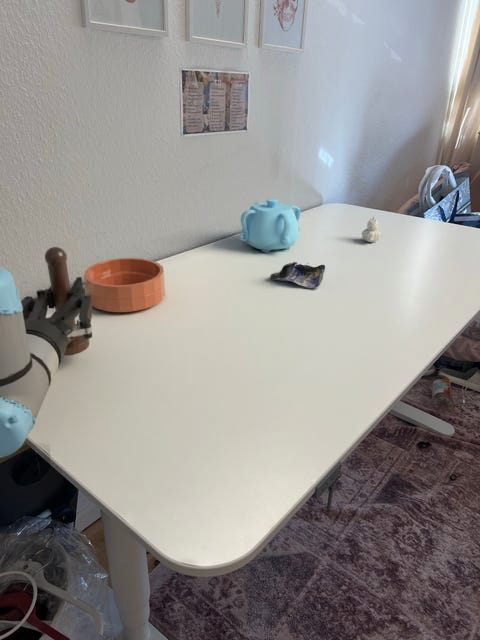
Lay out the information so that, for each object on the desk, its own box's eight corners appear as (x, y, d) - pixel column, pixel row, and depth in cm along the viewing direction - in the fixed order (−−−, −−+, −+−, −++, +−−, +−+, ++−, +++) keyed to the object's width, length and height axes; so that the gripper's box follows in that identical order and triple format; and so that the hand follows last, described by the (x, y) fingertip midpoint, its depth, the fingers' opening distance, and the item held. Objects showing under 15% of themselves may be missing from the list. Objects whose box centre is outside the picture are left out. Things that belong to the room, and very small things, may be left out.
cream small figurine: (379, 240, 147) (383, 214, 144) (378, 246, 142) (382, 219, 138) (361, 238, 149) (365, 212, 145) (359, 244, 143) (363, 218, 140)
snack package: (284, 295, 110) (330, 287, 113) (284, 267, 107) (330, 261, 111) (265, 283, 120) (307, 277, 124) (264, 258, 118) (306, 253, 122)
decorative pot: (286, 259, 131) (289, 209, 124) (232, 249, 136) (234, 201, 130) (304, 242, 144) (308, 197, 138) (255, 234, 150) (257, 190, 143)
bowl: (75, 312, 99) (70, 283, 96) (104, 281, 114) (101, 255, 111) (153, 318, 98) (151, 289, 95) (172, 286, 112) (171, 260, 109)
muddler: (43, 354, 79) (23, 253, 71) (60, 335, 85) (44, 239, 77) (80, 357, 79) (65, 255, 70) (95, 338, 84) (82, 242, 76)
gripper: (-29, 383, 63) (26, 304, 83) (95, 379, 64) (118, 303, 85) (-43, 333, 59) (18, 264, 80) (89, 330, 61) (114, 263, 81)
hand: (69, 284), depth 82 cm, fingers closed on muddler, 3 cm apart
